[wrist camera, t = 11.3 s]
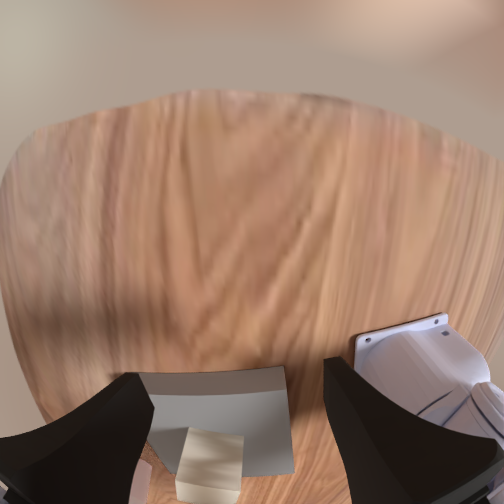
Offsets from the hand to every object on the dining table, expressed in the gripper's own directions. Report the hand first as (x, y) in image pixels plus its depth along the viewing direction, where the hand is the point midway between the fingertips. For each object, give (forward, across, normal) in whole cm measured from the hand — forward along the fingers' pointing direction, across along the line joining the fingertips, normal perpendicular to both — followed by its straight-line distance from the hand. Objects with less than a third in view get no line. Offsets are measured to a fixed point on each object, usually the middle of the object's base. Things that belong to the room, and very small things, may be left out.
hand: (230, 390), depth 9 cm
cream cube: (+7, +5, +14) cm, 17 cm away
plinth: (+10, +5, +14) cm, 18 cm away
